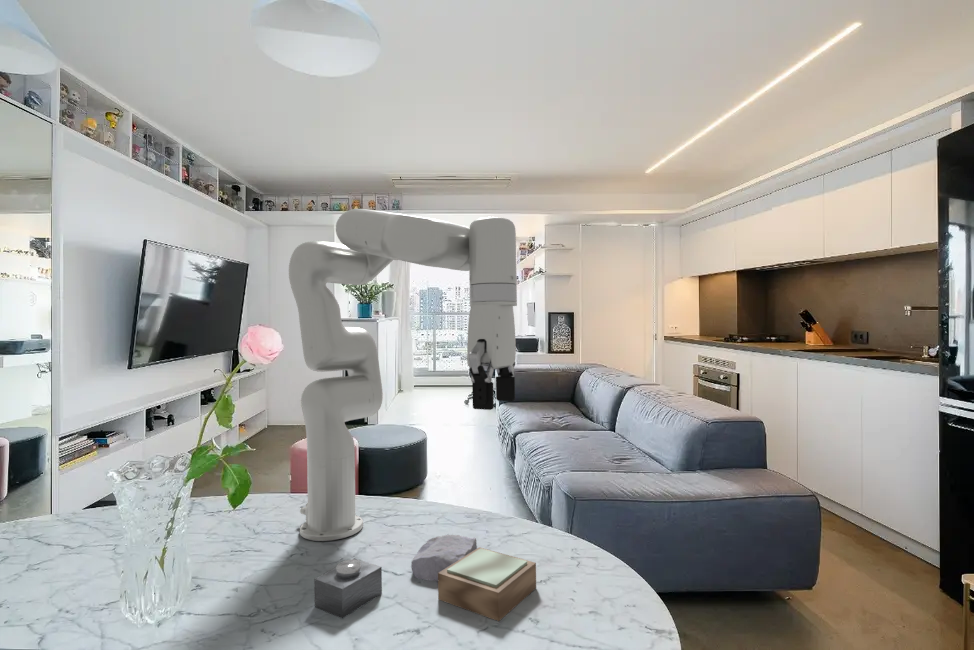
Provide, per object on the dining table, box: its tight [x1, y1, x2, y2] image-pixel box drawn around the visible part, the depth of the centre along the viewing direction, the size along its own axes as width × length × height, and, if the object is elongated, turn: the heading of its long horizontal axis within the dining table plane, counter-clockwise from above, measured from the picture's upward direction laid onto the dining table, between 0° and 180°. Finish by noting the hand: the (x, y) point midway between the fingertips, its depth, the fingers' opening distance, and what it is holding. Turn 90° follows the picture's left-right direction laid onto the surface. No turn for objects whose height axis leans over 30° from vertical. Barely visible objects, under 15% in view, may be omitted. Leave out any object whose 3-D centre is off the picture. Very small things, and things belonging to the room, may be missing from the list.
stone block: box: [410, 534, 478, 581], centre depth 89 cm, size 12×5×10 cm
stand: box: [437, 547, 537, 622], centre depth 79 cm, size 11×11×4 cm
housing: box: [313, 558, 383, 620], centre depth 78 cm, size 6×8×6 cm
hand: (495, 404), depth 81 cm, fingers open, 9 cm apart
